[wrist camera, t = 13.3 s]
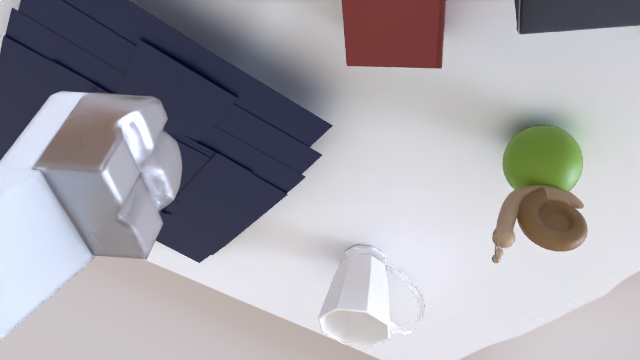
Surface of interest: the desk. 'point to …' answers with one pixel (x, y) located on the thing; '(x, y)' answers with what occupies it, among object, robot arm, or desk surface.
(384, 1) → the pocket dictionary
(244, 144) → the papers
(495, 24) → the desk surface
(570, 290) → the desk surface
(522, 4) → the small box
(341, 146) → the desk surface
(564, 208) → the snail figurine
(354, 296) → the cup
